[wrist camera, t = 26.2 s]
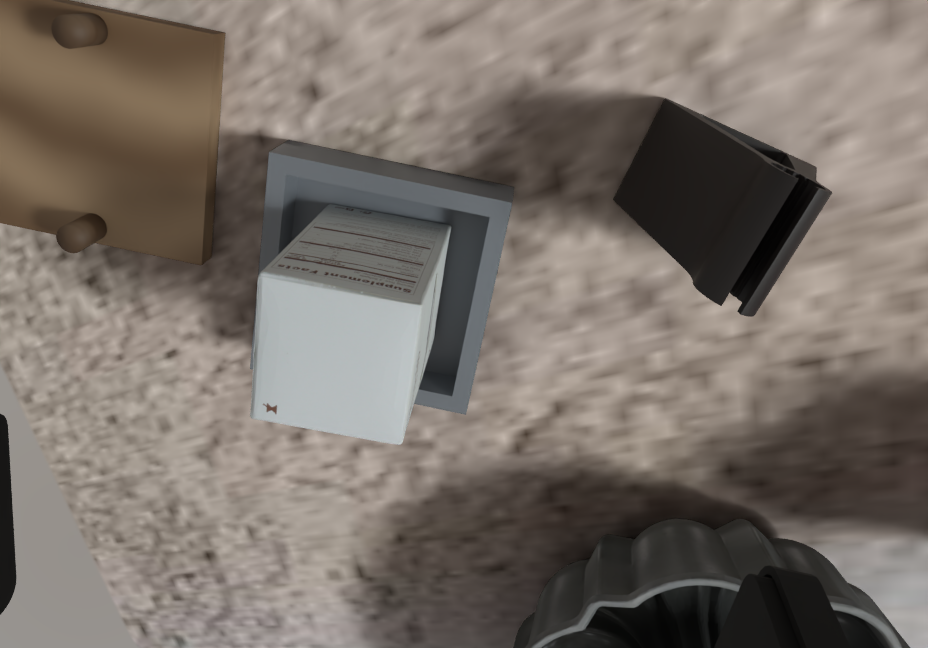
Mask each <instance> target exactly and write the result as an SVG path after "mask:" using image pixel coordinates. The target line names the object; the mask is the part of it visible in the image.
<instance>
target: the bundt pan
mask: <svg viewBox="0 0 928 648" xmlns="http://www.w3.org/2000/svg"><path fill="white" fill-rule="evenodd" d="M769 565H770V566H775V567H780V568H784V569H789V570H794V571H798V572H803V573H808V574H812V575H814V576H816V577H817V578H818V580H819V581H820V583H821V584H822V586H823V589H824V591H825V593H826V595H827V597H828V599H829V602H830V604H831V606H832V608H833V610H834V612H835V615H836V617H837V619H838V621H839V623H840V625H841V627H842V630H843V632H844V634H845V636H846V638H847V640H848V643H849V645H850V647H851V648H910V647H909V646H908V644H907V643H906V642H905V641H904V639H903V638H902V637H901V636H900V634H899V633H898V632H897V630H896V629H895V628H894V627H893V625H892V624H891V623H890V622H889V620H888V619H887V618H886V616H885V615H884V614H883V613H882V611H881V610H880V609H879V608H878V606H877V605H876V604H875V602H874V601H873V600H872V599H871V598H870V597H869V596H868V595H867V594H866V593H865V592H863V591H862V590H861V589H859V588H857V587H855V586H854V585H852V584H849V583H847V582H846V581H845V579H844V578H843V577H842V575H841V574H840V573H839V572H838V570H837V569H836V568H835V566H834V565H833V564H832V563H831V562H830V561H829V560H828V559H827V558H825V557H824V556H823V555H822V554H820V553H819V552H817V551H816V550H814V549H813V548H811V547H809V546H807V545H805V544H802V543H799V542H796V541H793V540H788V539H780V538H775V539H767V538H766V537H765V536H764V535H763V534H762V533H761V532H760V531H759V530H758V529H757V528H756V527H755V526H754V525H753V524H752V523H751V522H749V521H747V520H745V519H737V520H734V521H731V522H729V523H727V524H725V525H723V526H721V527H719V528H717V529H715V530H713V529H712V528H710V527H708V526H706V525H704V524H701V523H699V522H696V521H692V520H686V519H670V520H665V521H661V522H659V523H656V524H654V525H652V526H650V527H648V528H647V529H645V530H644V531H643V532H642V533H640V534H639V535H638V536H637V537H636V539H630V538H625V537H620V536H615V535H609V534H608V535H604V536H603V537H602V538H601V539H600V540H599V542H598V544H597V546H596V548H595V550H594V552H593V554H592V556H591V558H590V559H587V560H581V561H577V562H574V563H572V564H569V565H567V566H566V567H564V568H562V569H561V570H559V571H558V572H557V573H556V574H555V575H554V576H553V577H552V578H551V579H550V581H549V582H548V583H547V584H546V586H545V588H544V590H543V591H542V593H541V596H540V598H539V601H538V605H537V609H536V612H534V613H533V614H532V615H530V616H529V617H528V618H527V619H526V620H525V621H524V622H523V624H522V625H521V627H520V628H519V631H518V633H517V636H516V640H515V644H514V648H714V647H715V644H716V642H717V640H718V637H719V635H720V633H721V630H722V628H723V626H724V623H725V621H726V619H727V616H728V614H729V612H730V609H731V607H732V605H733V602H734V600H735V598H736V595H737V593H738V591H739V588H740V586H741V584H742V582H743V580H744V578H745V577H746V576H747V575H748V574H755V575H758V574H759V572H760V571H761V569H763V568H764V567H765V566H769Z"/></svg>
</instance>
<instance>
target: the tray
mask: <svg viewBox="0 0 928 648" xmlns="http://www.w3.org/2000/svg"><path fill="white" fill-rule="evenodd" d="M513 194H514V187H511V186H507V185H502V184H497V183H492V182H487V181H483V180H478V179H473V178H468V177H464V176H459V175H454V174H449V173H444V172H440V171H435V170H430V169H425V168H421V167H416V166H411V165H406V164H401V163H397V162H392V161H387V160H382V159H378V158H373V157H368V156H363V155H358V154H354V153H349V152H344V151H339V150H335V149H330V148H325V147H320V146H315V145H311V144H306V143H301V142H296V141H291V140H288V141H286V142H285V143H283V144H281V145H280V146H278V147H276V148H275V149H273V150H272V151H270V152H269V159H268V170H267V182H266V193H265V204H264V216H263V227H262V239H261V250H260V262H259V273H258V276H259V274H260V272H261V271H262V270H264V269H265V268H266V267H267V266H268V265H269V264H270V263H271V262H272V261H273V260H274V259H275V258H276V257H277V256H278V255H279V254H280V253H281V252H282V251H283V250H284V249H285V248H286V247H287V246H288V245H289V244H290V243H291V242H292V241H293V240H294V239H295V238H296V237H297V236H298V235H299V234H300V233H301V232H302V231H303V230H304V229H305V228H306V227H307V226H308V225H309V224H310V223H311V222H312V221H313V220H314V219H315V218H316V217H317V216H318V215H319V214H320V213H321V212H322V211H323V210H324V209H325V208H326V207H327V206H328V205H329V204H333V205H339V206H345V207H350V208H356V209H362V210H367V211H373V212H379V213H384V214H390V215H396V216H400V217H406V218H412V219H418V220H423V221H429V222H434V223H439V224H446V225H451V232H450V237H449V243H448V248H447V254H446V260H445V267H444V274H443V280H442V287H441V293H440V299H439V306H438V312H437V318H436V327H435V337H434V341H433V344H432V347H431V351H430V354H429V357H428V360H427V364H426V367H425V370H424V373H423V377H422V380H421V383H420V386H419V389H418V392H417V395H416V399H415V402H414V404H418V405H423V406H427V407H432V408H437V409H442V410H446V411H451V412H456V413H461V414H465V415H466V412H467V407H468V403H469V398H470V394H471V389H472V385H473V380H474V375H475V371H476V366H477V362H478V357H479V353H480V348H481V343H482V339H483V334H484V330H485V325H486V321H487V316H488V312H489V307H490V302H491V298H492V293H493V289H494V284H495V280H496V275H497V271H498V266H499V261H500V257H501V252H502V248H503V243H504V239H505V234H506V229H507V225H508V220H509V216H510V211H511V207H512V202H513ZM257 286H258V284H257ZM256 306H257V296H256ZM255 325H256V307H255V319H254V330H253V341H252V353H251V364H250V369H253V363H254V360H253V352H254V342H255Z"/></svg>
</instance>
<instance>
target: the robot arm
mask: <svg viewBox="0 0 928 648" xmlns="http://www.w3.org/2000/svg"><path fill="white" fill-rule="evenodd" d="M15 585H16V564H15V546H14V528H13V512H12V493H11V474H10V457H9V438H8V424H7V420H6V418H5V416H4V415H1V414H0V614H1V613H2V612H3V611H4V609H5V608H6V607H7V605H8V604H9V602H10V600H11V598H12V595H13V593H14V589H15ZM714 648H851V647H850V645H849V643H848V640H847V638H846V636H845V634H844V632H843V630H842V627H841V625H840V623H839V621H838V619H837V617H836V615H835V612H834V610H833V608H832V606H831V604H830V602H829V599H828V597H827V595H826V593H825V591H824V589H823V586H822V584H821V583H820V581H819V580H818V578H817V577H816V576H814V575H812V574H808V573H803V572H798V571H794V570H789V569H784V568H780V567H775V566H770V565H769V566H765V567H764V568H763V569H761V571H760V572H759V574H758V575H755V574H748V575H747V576H746V577H745V578H744V580H743V582H742V584H741V586H740V588H739V591H738V593H737V595H736V598H735V600H734V602H733V605H732V607H731V609H730V612H729V614H728V616H727V619H726V621H725V623H724V626H723V628H722V630H721V633H720V635H719V637H718V640H717V642H716V644H715V647H714Z"/></svg>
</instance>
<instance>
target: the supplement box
mask: <svg viewBox="0 0 928 648" xmlns="http://www.w3.org/2000/svg"><path fill="white" fill-rule="evenodd" d="M450 232H451V225H446V224H439V223H434V222H429V221H423V220H418V219H412V218H406V217H400V216H396V215H390V214H384V213H379V212H373V211H367V210H362V209H356V208H350V207H345V206H339V205H333V204H329V205H328V206H327V207H326V208H325V209H324V210H323V211H322V212H321V213H320V214H319V215H318V216H317V217H316V218H315V219H314V220H313V221H312V222H311V223H310V224H309V225H308V226H307V227H306V228H305V229H304V230H303V231H302V232H301V233H300V234H299V235H298V236H297V237H296V238H295V239H294V240H293V241H292V242H291V243H290V244H289V245H288V246H287V247H286V248H285V249H284V250H283V251H282V252H281V253H280V254H279V255H278V256H277V257H276V258H275V259H274V260H273V261H272V262H271V263H270V264H269V265H268V266H267V267H266V268H265V269H264V270H262V271H261V272H260V274H259V276H258V286H257V306H256V325H255V342H254V352H253V360H254V363H253V382H252V401H251V412H250V417H251V418H252V419H257V420H263V421H269V422H274V423H279V424H285V425H290V426H296V427H301V428H307V429H312V430H317V431H323V432H329V433H334V434H339V435H345V436H350V437H356V438H362V439H367V440H373V441H377V442H383V443H390V444H397V445H400V444H402V443H403V439H404V435H405V431H406V428H407V425H408V422H409V418H410V415H411V412H412V409H413V405H414V402H415V399H416V395H417V392H418V389H419V386H420V383H421V380H422V377H423V373H424V370H425V367H426V364H427V360H428V357H429V354H430V351H431V347H432V344H433V341H434V337H435V327H436V318H437V312H438V306H439V299H440V293H441V287H442V280H443V274H444V267H445V260H446V254H447V248H448V243H449V237H450Z"/></svg>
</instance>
